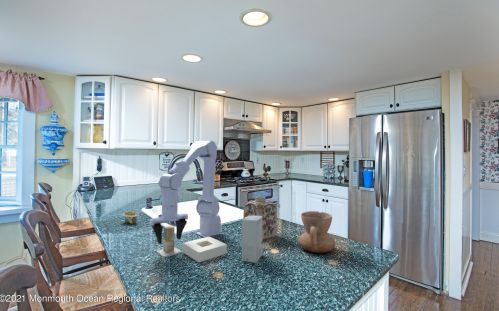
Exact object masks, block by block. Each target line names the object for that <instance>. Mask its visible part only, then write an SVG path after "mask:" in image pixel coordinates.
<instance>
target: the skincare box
mask: <svg viewBox="0 0 499 311" xmlns="http://www.w3.org/2000/svg"><path fill="white" fill-rule="evenodd" d="M263 252H264V250H263V240H262V216H252V215H249V216H247V217H245V218H244V219H243V218H242V219H241V261H242V262H250V263H253V264H257V263H258V262H259V260H260V259H261V257H263Z"/></svg>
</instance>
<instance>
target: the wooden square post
mask: <svg viewBox="0 0 499 311" xmlns="http://www.w3.org/2000/svg"><path fill="white" fill-rule="evenodd" d="M175 231H176V229H175V227H174V226H172V225H169V226H163V238H162V239H163V240H162V241H163V242H162V245H163V248H162V249H163V251H164V252H166V253H169V252H173V251H174V247H175Z"/></svg>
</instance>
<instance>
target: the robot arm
mask: <svg viewBox="0 0 499 311" xmlns="http://www.w3.org/2000/svg"><path fill="white" fill-rule="evenodd" d="M215 142H216V141H214V140H195V141H194V142H193V143H192V144H191V146H190V150H189V151H188V152H187V153H186V155H185V156H184V158H182V160H178V161H175V164H174V165H173V166H172V167H171V168H170V169H169V170H168V172H166V173H164V174H162V175H161V176H160V177H159V181H158V186H159V188H160V192H161V216H159V217H158V216H157V217H154V218H150V219H149V221H148V222H149V226H151V228H152V229H153V232H154V234H155V237H156V241H157V242H156V244H158V245H161V244H163V242H162V241H163V240H162V239H163V236H162V234H163V230H164V226H162V224H165V223H171V222H175V225H176V226H175V227H176V229H175V231H176V232H175V233H176V239H178V240H181V239H182V235H183V231H184V229H185V228H186V226H187V223H188V221H187V220H188V219H189V214H187V213H179V214H178V204H179V203H178V201H179V200H178V198H179V196H178V195H179V193H178V192H179V188H180V187H181V186H182V181H183V179H184V177H185V176H186V175H187V174H188V172H189V171H190V169H191V168H190V166H191V164H192V163H193V162H194V161H195V160H197V158H200V159H202V161H203V178H202V195H200V196H198V199H197V203H196V206H195V207H196V212H197V213H198V216H199V231H197V232H196V233H195V234H196V235H199V236H200V237H201V238H205V237H215V236H216V235H217V236H218V235H221V234H222V232H221V228H222V225H221V224H222V220H221V216H220V215H219V212H220V202H219V201H220V199H219V198H218V197H217V196H216V195H215V181H216V180H215V175H216V159H217V155H218V153H217V152H218V146H217V144H216V143H215Z"/></svg>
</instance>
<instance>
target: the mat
mask: <svg viewBox="0 0 499 311" xmlns="http://www.w3.org/2000/svg"><path fill="white" fill-rule="evenodd" d="M155 253H157V254H158V255H159V256H161V257H162V258H168V257H171V256H175V255H179V254H182V253H183V252H182V250H180V249H179V248H177V247H175V246H174V251H173V252H169V253H166V252H164V251H163V248H161V249H158V250H156V252H155Z"/></svg>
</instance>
